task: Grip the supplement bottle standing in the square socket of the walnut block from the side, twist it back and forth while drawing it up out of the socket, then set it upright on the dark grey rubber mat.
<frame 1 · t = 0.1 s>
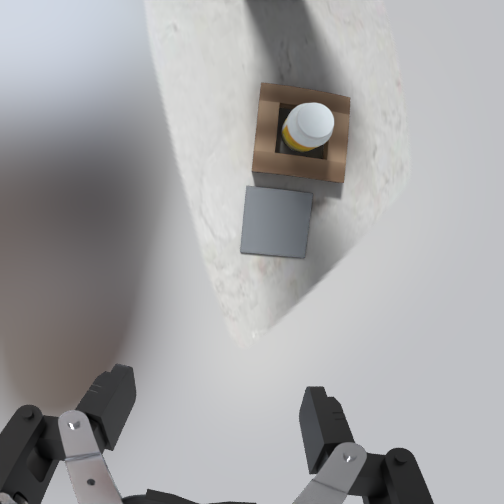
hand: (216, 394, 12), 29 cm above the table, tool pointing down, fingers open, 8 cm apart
rubber mat: (276, 222, 39), on the table
supplement bottle: (300, 134, 37), resting in socket block
socket block: (300, 133, 37), on the table
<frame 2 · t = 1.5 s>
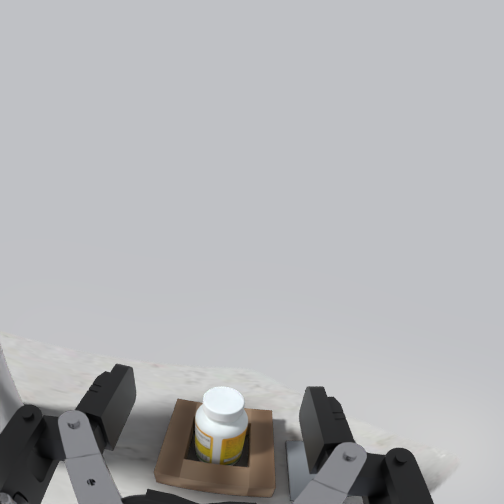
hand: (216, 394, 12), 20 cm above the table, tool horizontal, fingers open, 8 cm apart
rubber mat: (325, 469, 25), on the table
supplement bottle: (218, 453, 27), resting in socket block
socket block: (218, 452, 27), on the table
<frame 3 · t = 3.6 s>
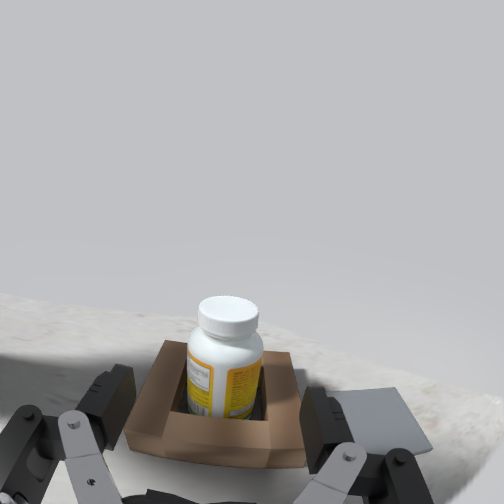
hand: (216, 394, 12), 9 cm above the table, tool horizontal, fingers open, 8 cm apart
rubber mat: (369, 424, 20), on the table
supplement bottle: (220, 410, 21), resting in socket block
socket block: (220, 409, 21), on the table
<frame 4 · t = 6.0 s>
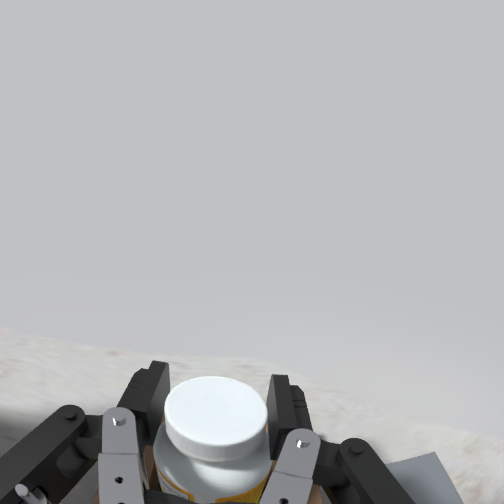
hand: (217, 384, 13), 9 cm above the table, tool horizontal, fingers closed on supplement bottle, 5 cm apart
when the fingers open (10 cm above the table, at t = 12.2 s): supplement bottle drops 1 cm, resting on rubber mat.
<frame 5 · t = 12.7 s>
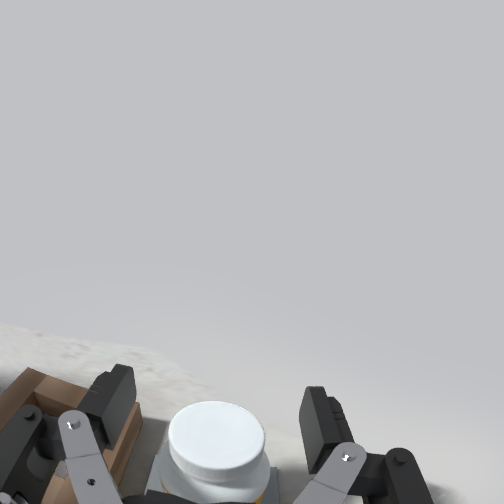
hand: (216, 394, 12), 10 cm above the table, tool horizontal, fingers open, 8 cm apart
socket block: (55, 449, 14), on the table
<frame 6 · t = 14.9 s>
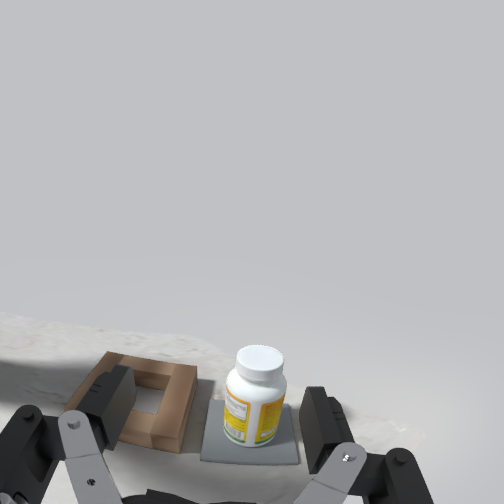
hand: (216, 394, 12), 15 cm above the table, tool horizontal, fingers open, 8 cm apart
rubber mat: (249, 432, 25), on the table
supplement bottle: (249, 431, 25), resting on rubber mat
socket block: (137, 404, 27), on the table
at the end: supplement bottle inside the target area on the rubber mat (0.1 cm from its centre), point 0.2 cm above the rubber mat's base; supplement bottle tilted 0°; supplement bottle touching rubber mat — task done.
